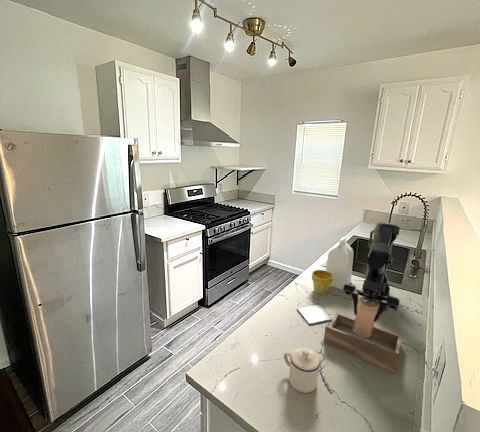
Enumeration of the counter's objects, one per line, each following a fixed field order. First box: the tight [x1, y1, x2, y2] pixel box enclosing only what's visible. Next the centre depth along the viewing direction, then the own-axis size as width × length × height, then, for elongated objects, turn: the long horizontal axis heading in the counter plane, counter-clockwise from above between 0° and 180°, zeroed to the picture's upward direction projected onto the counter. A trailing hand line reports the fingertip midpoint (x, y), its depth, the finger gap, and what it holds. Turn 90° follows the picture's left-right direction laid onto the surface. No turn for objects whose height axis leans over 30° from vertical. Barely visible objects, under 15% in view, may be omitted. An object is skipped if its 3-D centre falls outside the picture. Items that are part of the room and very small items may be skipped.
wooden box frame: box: [323, 312, 402, 374], centre depth 99 cm, size 16×24×7 cm, turn 55°
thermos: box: [364, 222, 394, 280], centre depth 139 cm, size 9×12×35 cm
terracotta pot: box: [352, 296, 379, 339], centre depth 96 cm, size 7×7×13 cm
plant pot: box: [311, 269, 333, 295], centre depth 135 cm, size 10×10×10 cm
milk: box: [325, 236, 354, 291], centre depth 142 cm, size 12×12×26 cm
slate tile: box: [296, 304, 333, 326], centre depth 116 cm, size 11×11×1 cm
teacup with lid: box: [283, 346, 321, 394], centre depth 83 cm, size 12×9×12 cm
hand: (364, 318), depth 95 cm, fingers closed on terracotta pot, 6 cm apart
